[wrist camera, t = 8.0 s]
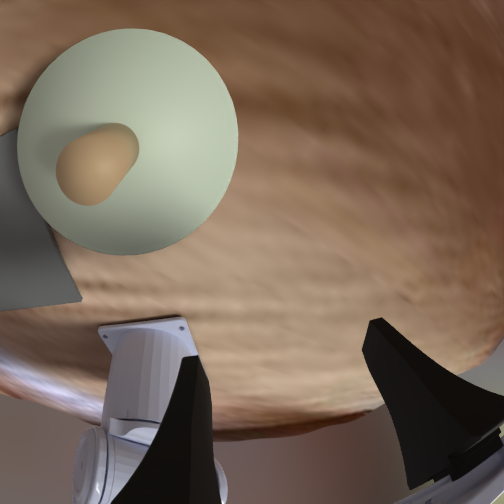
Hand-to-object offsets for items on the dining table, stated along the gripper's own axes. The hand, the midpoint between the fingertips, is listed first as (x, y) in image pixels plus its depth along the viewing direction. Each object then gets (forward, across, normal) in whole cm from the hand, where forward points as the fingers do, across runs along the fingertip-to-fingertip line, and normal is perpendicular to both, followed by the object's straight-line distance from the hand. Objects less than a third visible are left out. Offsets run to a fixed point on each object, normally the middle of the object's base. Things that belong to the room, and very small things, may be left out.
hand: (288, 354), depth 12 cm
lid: (+6, +6, -8) cm, 12 cm away
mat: (+10, +20, -4) cm, 23 cm away
